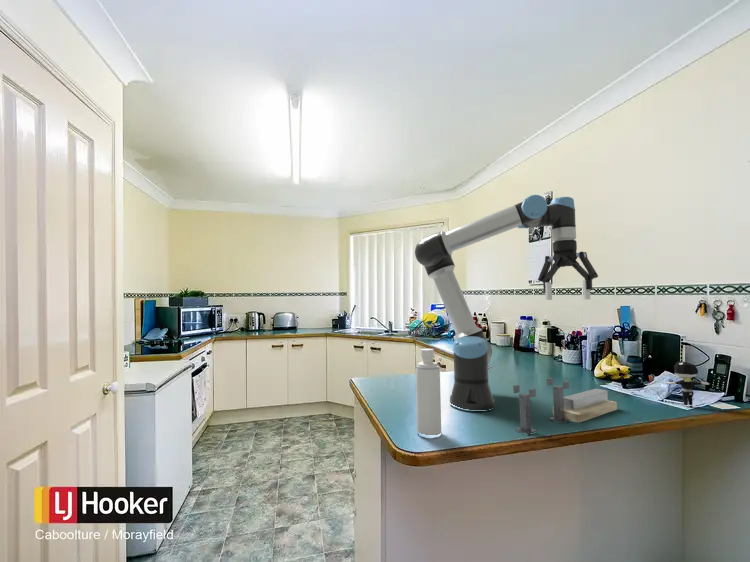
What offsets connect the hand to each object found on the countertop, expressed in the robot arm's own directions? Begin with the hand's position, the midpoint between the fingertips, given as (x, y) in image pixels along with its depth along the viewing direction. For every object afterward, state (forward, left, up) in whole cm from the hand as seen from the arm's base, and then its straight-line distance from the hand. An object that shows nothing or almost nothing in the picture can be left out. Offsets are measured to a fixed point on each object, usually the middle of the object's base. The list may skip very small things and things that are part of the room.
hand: (567, 299), depth 120 cm
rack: (+7, -27, -37) cm, 46 cm away
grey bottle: (-6, -59, -37) cm, 70 cm away
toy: (+22, +30, -37) cm, 52 cm away
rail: (+7, -4, -34) cm, 35 cm away
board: (+7, -4, -37) cm, 38 cm away
